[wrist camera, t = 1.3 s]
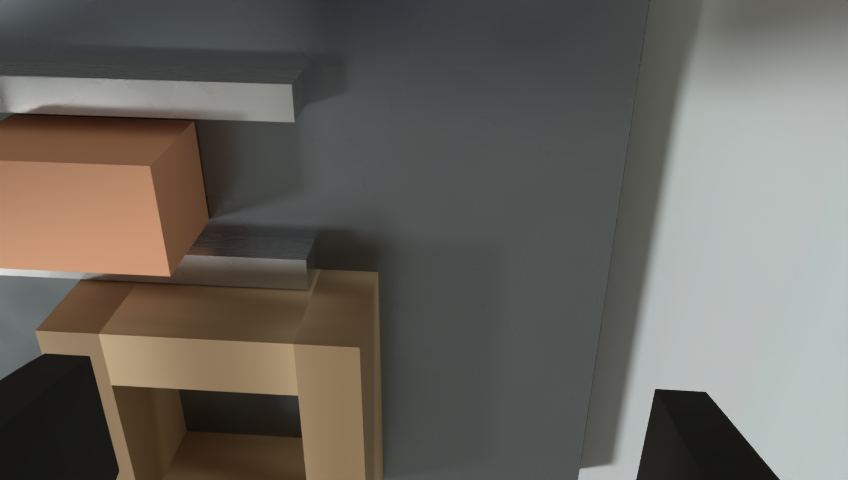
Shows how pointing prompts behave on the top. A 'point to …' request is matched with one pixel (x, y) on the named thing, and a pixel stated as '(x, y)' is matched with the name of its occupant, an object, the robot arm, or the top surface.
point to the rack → (231, 372)
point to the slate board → (376, 192)
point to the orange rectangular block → (99, 194)
